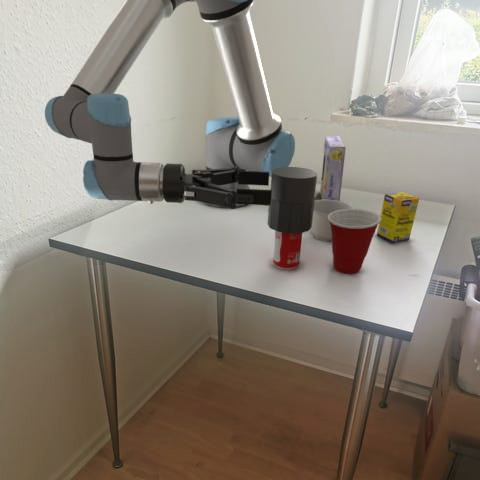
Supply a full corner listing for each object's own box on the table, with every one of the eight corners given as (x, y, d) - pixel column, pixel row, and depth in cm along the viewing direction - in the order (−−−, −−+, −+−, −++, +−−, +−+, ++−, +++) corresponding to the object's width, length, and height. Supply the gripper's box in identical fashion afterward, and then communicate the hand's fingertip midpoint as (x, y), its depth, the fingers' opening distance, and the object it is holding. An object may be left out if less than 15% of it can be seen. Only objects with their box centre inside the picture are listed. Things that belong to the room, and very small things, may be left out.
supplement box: (392, 244, 116) (401, 200, 111) (375, 235, 121) (384, 193, 115) (410, 240, 119) (420, 197, 113) (393, 232, 123) (402, 191, 118)
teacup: (351, 233, 122) (356, 202, 118) (345, 248, 113) (350, 215, 109) (298, 225, 125) (302, 195, 121) (288, 239, 117) (292, 207, 112)
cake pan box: (318, 191, 154) (325, 133, 145) (333, 192, 154) (341, 134, 144) (321, 209, 137) (330, 146, 128) (339, 210, 137) (348, 147, 128)
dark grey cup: (262, 229, 96) (265, 174, 90) (275, 216, 103) (279, 164, 98) (304, 236, 94) (311, 180, 88) (315, 222, 101) (321, 170, 95)
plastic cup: (315, 258, 107) (322, 206, 101) (362, 258, 108) (371, 207, 102) (327, 279, 98) (335, 224, 92) (377, 279, 99) (389, 224, 93)
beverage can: (299, 260, 106) (306, 193, 98) (299, 272, 100) (307, 203, 92) (272, 258, 106) (277, 191, 98) (271, 270, 101) (276, 201, 93)
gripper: (173, 184, 107) (266, 188, 107) (154, 222, 86) (270, 227, 86) (172, 150, 103) (269, 154, 103) (151, 180, 82) (273, 186, 82)
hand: (270, 187), depth 95 cm, fingers open, 13 cm apart
